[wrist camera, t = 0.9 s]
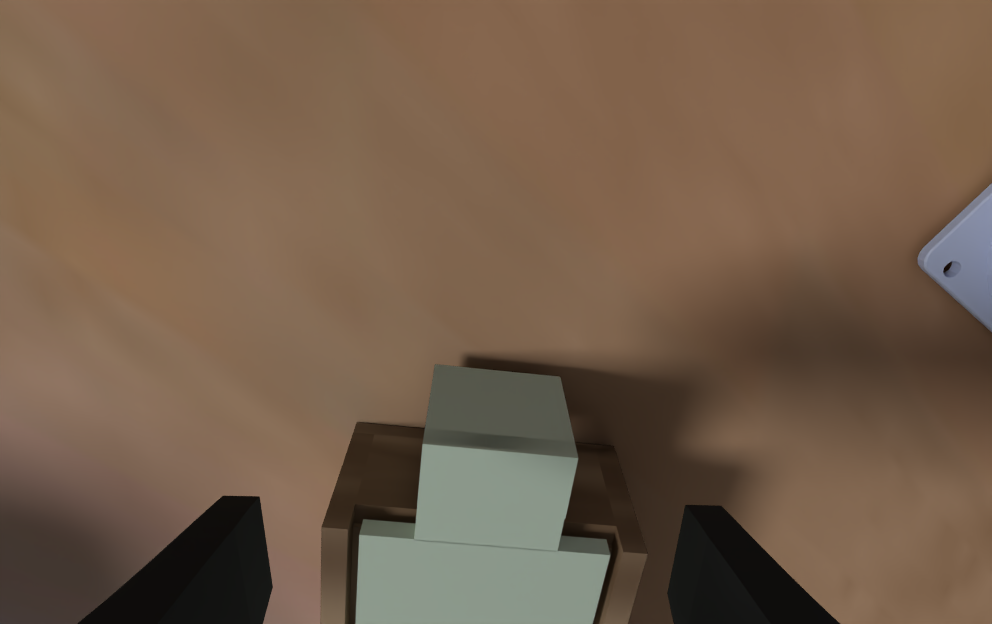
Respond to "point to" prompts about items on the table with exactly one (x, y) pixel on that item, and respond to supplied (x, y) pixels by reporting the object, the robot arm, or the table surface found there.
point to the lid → (486, 514)
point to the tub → (393, 497)
